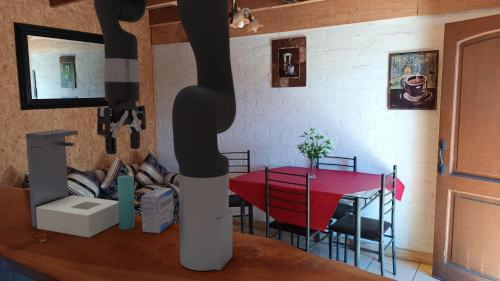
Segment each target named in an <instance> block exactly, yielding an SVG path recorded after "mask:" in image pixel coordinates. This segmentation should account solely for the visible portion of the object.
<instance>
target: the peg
mask: <svg viewBox="0 0 500 281" xmlns="http://www.w3.org/2000/svg"><path fill="white" fill-rule="evenodd" d="M134 185H135V184H134V176H133V175H121V176H118V177H117V198H118V199H117V201H118V206H119V223H118V228H119V229H120V230H130V229H133V228H135V227H136V226H135V223H136V222H135V218H136V217H135V190H134V189H135V188H134V187H135V186H134Z"/></svg>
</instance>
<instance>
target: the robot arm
mask: <svg viewBox="0 0 500 281" xmlns="http://www.w3.org/2000/svg"><path fill="white" fill-rule="evenodd" d="M229 1H230V0H176V7H177V13H178V17H179V21H180V23H181V26H182V29H183V31H184V33H185V35H186V38H187V40H188V43H189V44H190V47H191V50H192V53H193V56H194V60H195V65H196V78H197V79H196V80H197V83H196V84H191V85H188V86H185V87H183V88H182V89H180V90H179V91H178V92H177V93H176V95H175V97H174V100H173V103H172V104H173V105H172V111H171V115H172V116H171V122H172V125H171V126H172V138H173V139H172V140H173V152H174V157H175V160H176V162H177V164H178V165H177V166H178V186H179V187H178V193H179V194H178V196H179V198H178V199H179V201H178V203H179V204H178V205H179V216H178V217H179V260H180V261H179V262H180V265H181V266H183V267H184V268H186V269H187V270H188V269H189V270H191V271H192V270H194V271H199V272H202V271H213V270H215V271H221V270H222V269H223V268H224V267H225V265H226V264H228V262H230V260H231V259H232V258H233V221H234V220H233V214H234V213H233V210H232V209H229V208H230V207H229V206H230V204H229V200H230V199H229V198H230V196H229V193H230V191H229V188H230V187H229V186H230V185H229V184H230V161H229V158H228V156H226V154H223V153H221V152H220V149H219V143H218V142H219V141H218V140H219V139H218V135H219V134H222V133H225V132H227V131H228V130H230V128H231V127H232V126H233V123H235V119H236V116H237V100H236V92H235V91H236V90H235V84H234V76H233V70H232V63H231V61H232V60H231V44H230V43H231V42H230V41H231V40H230V22H229V20H230V19H229V6H230V5H229V4H230V3H229ZM147 3H148V0H93V6H94V10H95V14H96V17H97V19H98V20H97V21H98V24H99V28H100V31H101V33H102V37H103V42H104V44H103V45H104V46H103V47H104V65H103V67H104V68H103V77H104V78H103V80H104V83H103V84H104V86H103V87H104V100H105V101H106V102H108V107H106V106H105V107H104V106H99V107H97V109H96V111H97V113H96V114H97V115H96V116H97V117H96V119H97V121H96V133H97V135H98V136H101V137H102V136H103V137H104V142H105V143H104V144H105V146H104V147H105V149H104V150H105V152H106V154H107V155H111V156H113V155H117V137H116V136H117V134H118V132H119V130H121V129H122V127H123V126H126V127H127V128H128V129H129V131H130V134H129V139H130V140H129V141H130V145H129V146H130V148H131V149H132V150H139V149H140V148H141V133H142V131H143V130H144V131H145V130H146V129H147V120H146V119H147V118H146V117H147V116H146V106H145V105H142V104H137V103H138V102H139V101H141V98H140V97H141V93H140V90H141V89H140V88H141V87H140V68H139V66H140V65H139V54H138V53H139V52H138V50H139V49H138V37H137V36H136V35H135V34H133V33H131V32H129V31H127V30H125V29H124V28H122V26H121V23H120V22H124V23H137V22H138V21H140V20H141V19H142V18H143V17H144V15H145V13H146V9H147ZM140 123H141V124H140Z"/></svg>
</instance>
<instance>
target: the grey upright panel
mask: <svg viewBox="0 0 500 281" xmlns="http://www.w3.org/2000/svg"><path fill="white" fill-rule="evenodd" d="M78 134H79V133H78V130H71V129H54V130H46V131H39V132H38V131H37V132H29V133H26V134H25V139H26V140H25V141H26V152H27V154H26V155H27V168H28V171H27V172H28V184H29V197H30V213H31V215H30V216H31V225H32V226H31V227H32V228H37V218H36V207H39V206H42V205H45V204H48V203H51V202H54V201H57V200H60V199H63V198H66V197H69V183H68V182H69V181H68V165H67V147H75V144H76V143H75V142H67V141H66V137H69V136H77V135H78Z"/></svg>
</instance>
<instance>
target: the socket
mask: <svg viewBox="0 0 500 281" xmlns="http://www.w3.org/2000/svg"><path fill="white" fill-rule="evenodd" d="M36 218H37V227H36V229H37V230H38V229H39V230H44V231H49V232H54V233H55V232H56V233H61V234H66V235H67V234H68V235H72V236H78V237H85V238H91V237H93V236H95V235H97V234H99V233H101V232H103V231H106V230H107V229H109V228H110V227H113V226H114V225H117V224H119V206H118V200H111V199H103V198H95V197H89V196H80V195H74V194H73V195H68V197H66V198H63V199H60V200H57V201H54V202H51V203H48V204H45V205H42V206H39V207H36Z"/></svg>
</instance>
